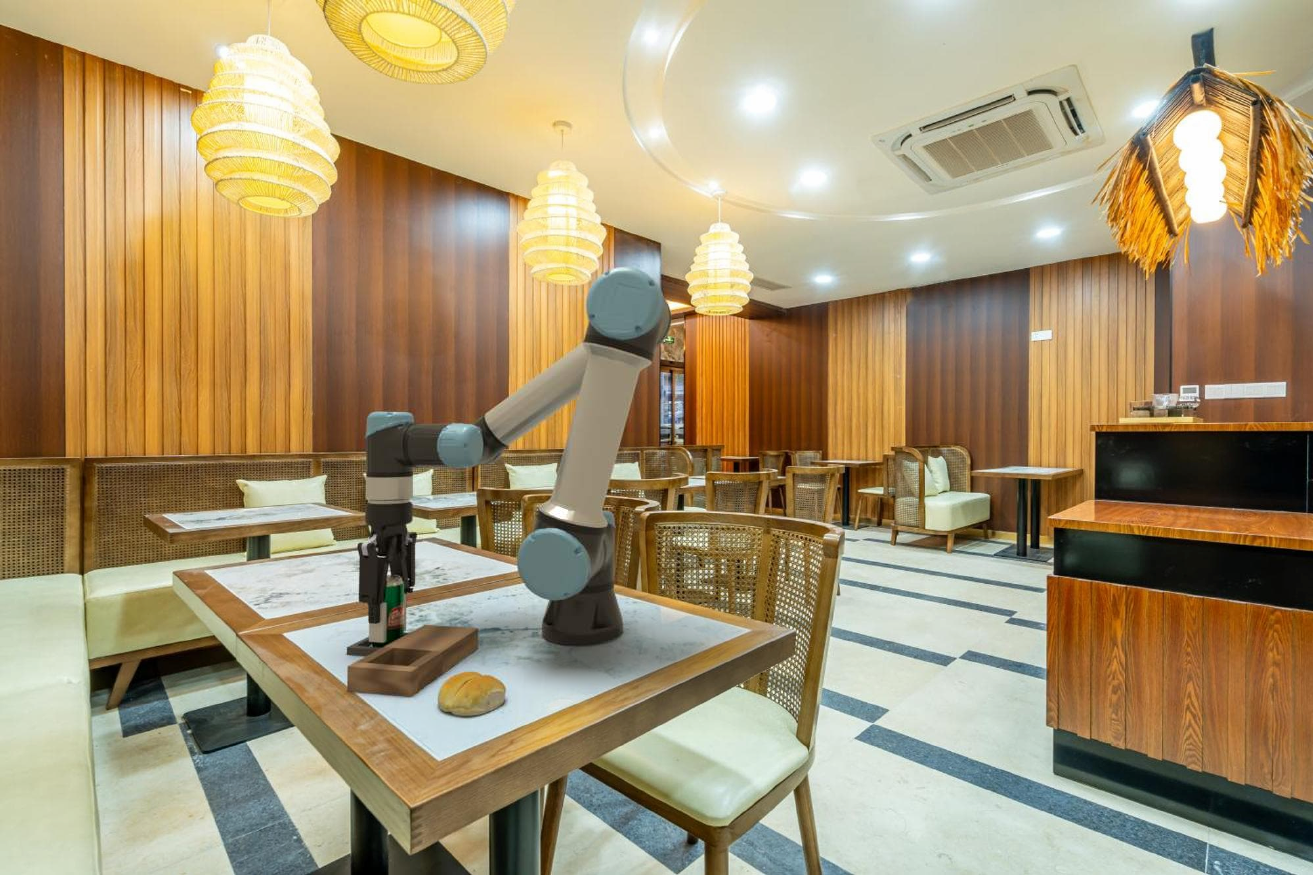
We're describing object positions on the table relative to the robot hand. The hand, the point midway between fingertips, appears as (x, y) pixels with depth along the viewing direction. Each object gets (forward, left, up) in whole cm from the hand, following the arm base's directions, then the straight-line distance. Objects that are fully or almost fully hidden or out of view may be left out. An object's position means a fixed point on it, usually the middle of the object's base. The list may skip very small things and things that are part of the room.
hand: (388, 635), depth 104 cm
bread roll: (-25, +18, -2) cm, 30 cm away
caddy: (-10, +8, -2) cm, 13 cm away
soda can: (0, 0, -2) cm, 2 cm away
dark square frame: (0, 0, -2) cm, 2 cm away
